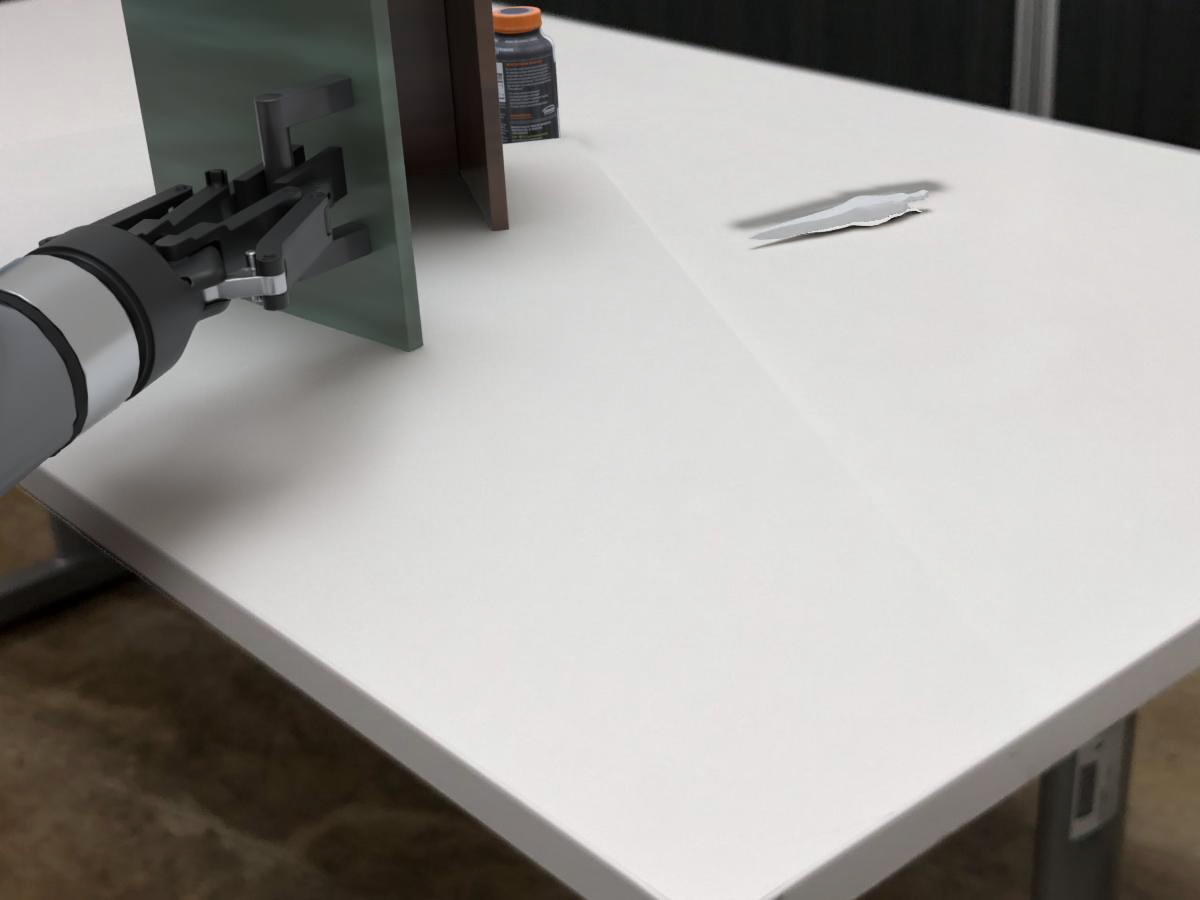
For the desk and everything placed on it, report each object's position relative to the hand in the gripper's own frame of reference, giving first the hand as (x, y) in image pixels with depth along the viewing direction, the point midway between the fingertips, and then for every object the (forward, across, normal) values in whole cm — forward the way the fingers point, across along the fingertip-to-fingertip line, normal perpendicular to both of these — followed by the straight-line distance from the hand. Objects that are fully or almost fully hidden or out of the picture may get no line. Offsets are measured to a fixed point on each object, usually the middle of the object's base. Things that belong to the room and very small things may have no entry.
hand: (319, 169), depth 87 cm
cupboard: (+21, -11, -12) cm, 27 cm away
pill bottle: (+45, -5, -12) cm, 47 cm away
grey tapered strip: (+29, +24, -12) cm, 40 cm away
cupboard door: (+1, -7, -12) cm, 14 cm away
